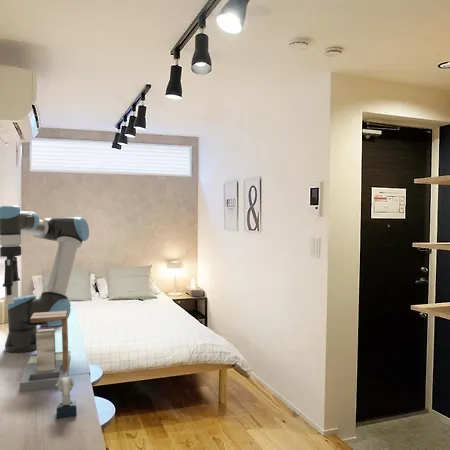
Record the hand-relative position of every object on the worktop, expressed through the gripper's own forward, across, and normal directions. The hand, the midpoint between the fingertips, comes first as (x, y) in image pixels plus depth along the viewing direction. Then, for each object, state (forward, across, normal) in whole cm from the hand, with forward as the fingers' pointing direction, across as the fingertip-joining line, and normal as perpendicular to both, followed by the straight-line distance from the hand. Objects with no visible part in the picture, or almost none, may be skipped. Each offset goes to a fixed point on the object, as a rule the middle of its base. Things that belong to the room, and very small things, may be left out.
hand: (12, 300), depth 183 cm
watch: (+27, +50, +21) cm, 61 cm away
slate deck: (+27, +10, +13) cm, 31 cm away
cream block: (+24, +13, +13) cm, 30 cm away
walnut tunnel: (+24, +13, +14) cm, 31 cm away
